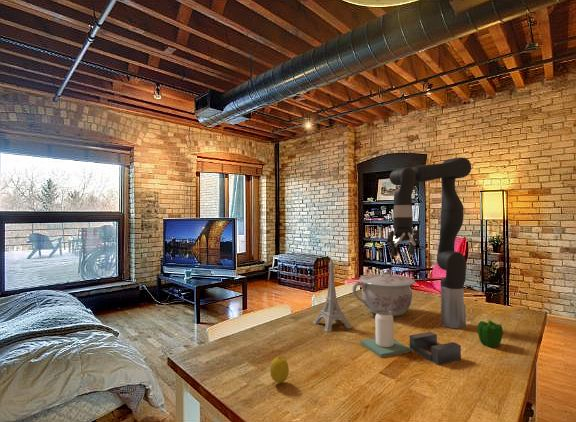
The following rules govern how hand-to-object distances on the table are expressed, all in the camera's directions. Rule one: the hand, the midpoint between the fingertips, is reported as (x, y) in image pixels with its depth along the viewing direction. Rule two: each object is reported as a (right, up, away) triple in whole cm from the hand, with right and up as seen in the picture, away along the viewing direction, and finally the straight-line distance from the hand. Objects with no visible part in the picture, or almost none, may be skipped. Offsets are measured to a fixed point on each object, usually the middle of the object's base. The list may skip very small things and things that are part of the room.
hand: (403, 255), depth 132 cm
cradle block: (+4, -33, -18) cm, 38 cm away
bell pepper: (+29, -33, -10) cm, 45 cm away
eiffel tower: (-28, -34, +13) cm, 46 cm away
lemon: (-50, -34, -36) cm, 71 cm away
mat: (-11, -33, -12) cm, 37 cm away
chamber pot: (+2, -34, +30) cm, 45 cm away
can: (-11, -32, -12) cm, 36 cm away
